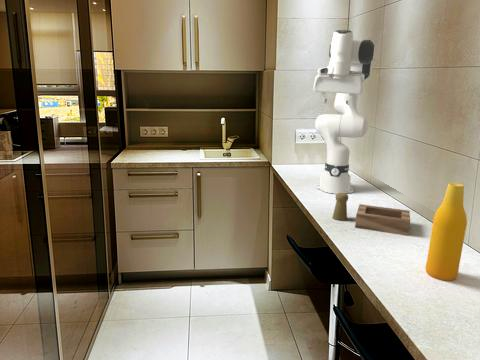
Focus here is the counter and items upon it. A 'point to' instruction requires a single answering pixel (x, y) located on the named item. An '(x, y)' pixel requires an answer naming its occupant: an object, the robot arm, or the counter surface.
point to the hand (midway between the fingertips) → (336, 104)
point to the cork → (340, 207)
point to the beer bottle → (447, 235)
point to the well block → (383, 219)
